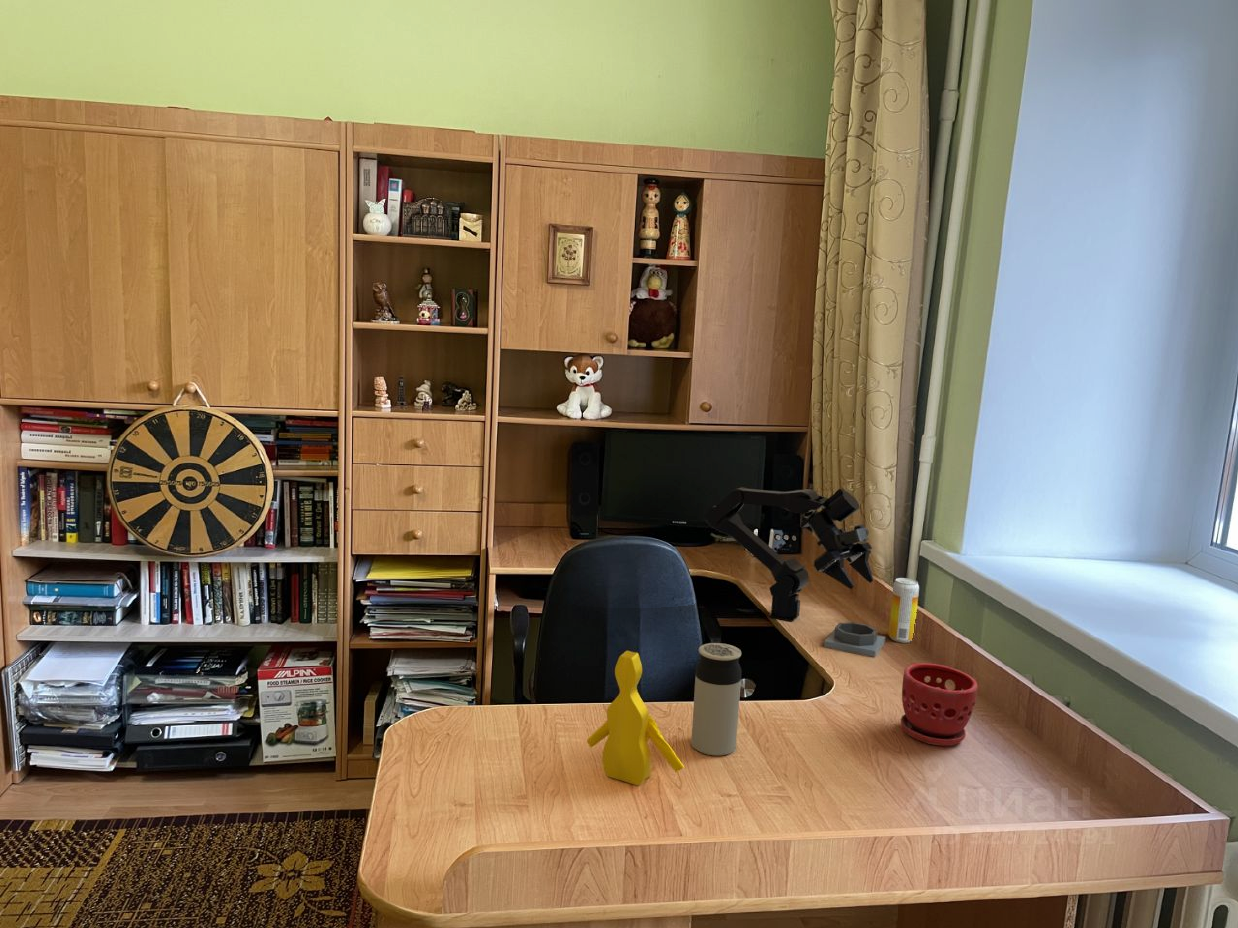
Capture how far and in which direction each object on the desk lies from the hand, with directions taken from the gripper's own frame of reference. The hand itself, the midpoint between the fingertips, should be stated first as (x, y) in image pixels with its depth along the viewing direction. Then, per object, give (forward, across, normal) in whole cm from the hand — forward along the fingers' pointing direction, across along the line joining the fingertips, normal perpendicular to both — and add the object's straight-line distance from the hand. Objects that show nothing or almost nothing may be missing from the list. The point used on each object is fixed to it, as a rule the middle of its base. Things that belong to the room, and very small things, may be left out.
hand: (862, 584), depth 217 cm
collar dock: (+11, -6, +8) cm, 15 cm away
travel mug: (+20, -74, -1) cm, 77 cm away
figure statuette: (+19, -94, 0) cm, 96 cm away
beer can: (+15, +8, +4) cm, 18 cm away
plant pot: (+37, -38, -18) cm, 56 cm away
